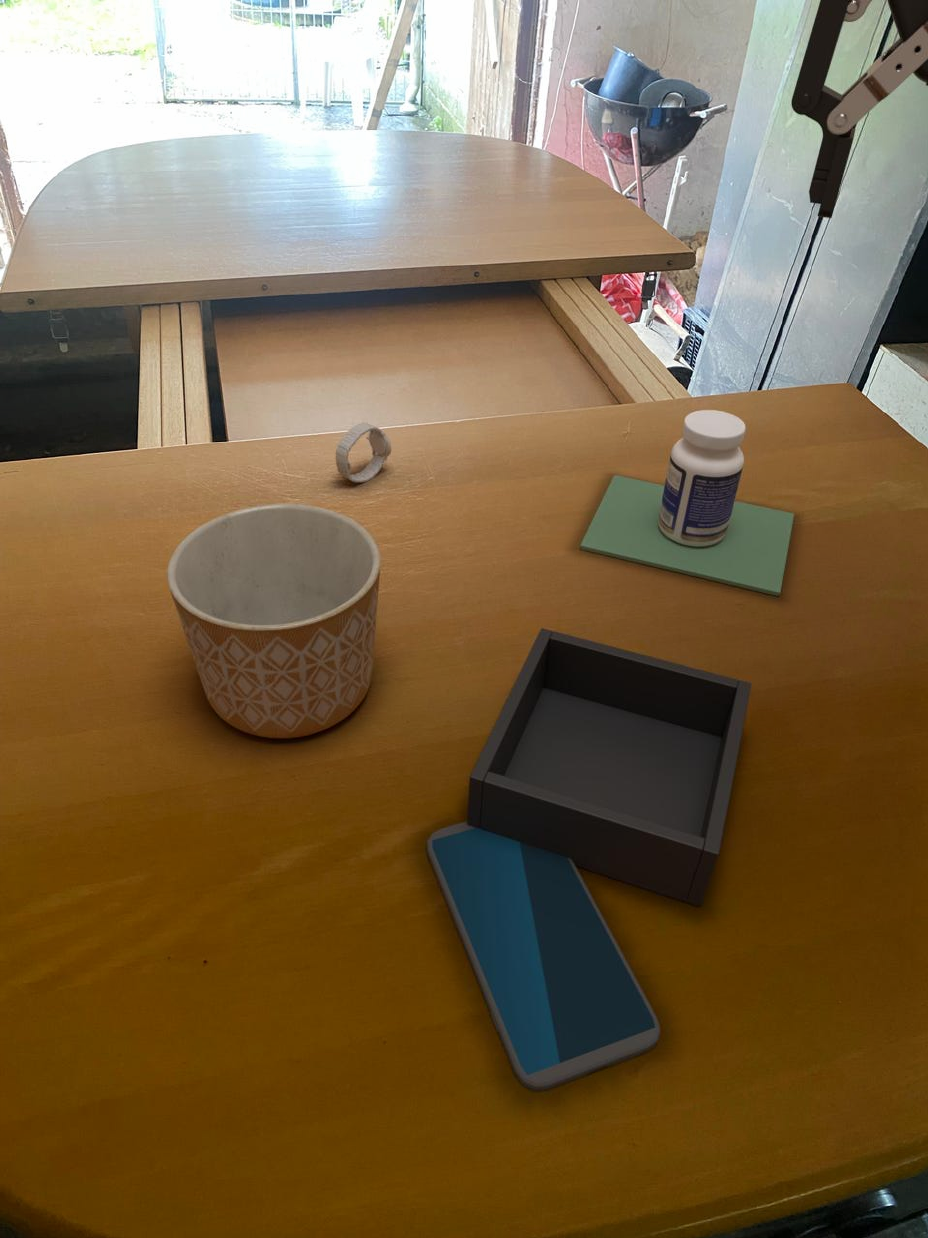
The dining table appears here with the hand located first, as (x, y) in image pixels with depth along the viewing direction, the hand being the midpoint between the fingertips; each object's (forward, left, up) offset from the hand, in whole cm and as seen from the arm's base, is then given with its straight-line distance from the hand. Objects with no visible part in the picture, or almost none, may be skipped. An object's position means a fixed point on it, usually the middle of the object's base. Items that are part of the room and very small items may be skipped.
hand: (914, 226), depth 45 cm
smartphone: (+9, +26, -31) cm, 41 cm away
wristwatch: (+37, -12, -30) cm, 49 cm away
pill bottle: (+8, -15, -30) cm, 34 cm away
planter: (+30, +14, -30) cm, 45 cm away
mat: (+8, -15, -30) cm, 35 cm away
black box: (+8, +14, -30) cm, 34 cm away
